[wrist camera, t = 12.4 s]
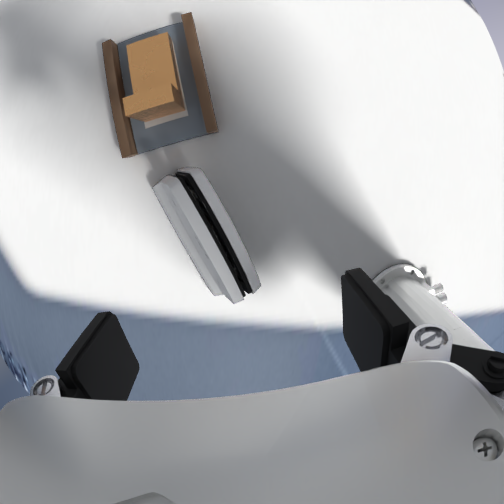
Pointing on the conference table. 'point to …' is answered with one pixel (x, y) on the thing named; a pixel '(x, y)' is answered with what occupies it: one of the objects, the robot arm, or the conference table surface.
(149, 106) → the bracket
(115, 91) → the bay walls
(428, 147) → the conference table surface
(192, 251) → the grey slotted curved block
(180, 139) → the bay mat
